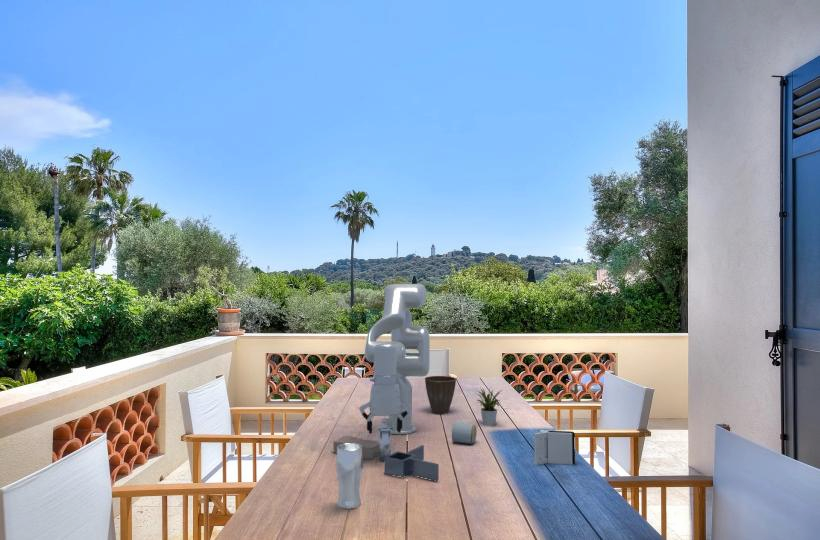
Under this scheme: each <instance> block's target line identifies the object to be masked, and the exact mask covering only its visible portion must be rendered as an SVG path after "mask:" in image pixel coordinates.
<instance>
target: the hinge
mask: <svg viewBox="0 0 820 540" xmlns="http://www.w3.org/2000/svg"><path fill="white" fill-rule="evenodd" d="M575 440H576V435H575V432H574V431H572V430H559V429H558V430H555V429H547V430H546V429H540V430H539V432H536V433H535V432H534V434H533V441H534V442H533V443H534V445H533V447H534V451H533V454H534V465H535V466H538V465H543V464H553V465H554V464H556V465H568V466H569V465H576V441H575Z"/></svg>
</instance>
